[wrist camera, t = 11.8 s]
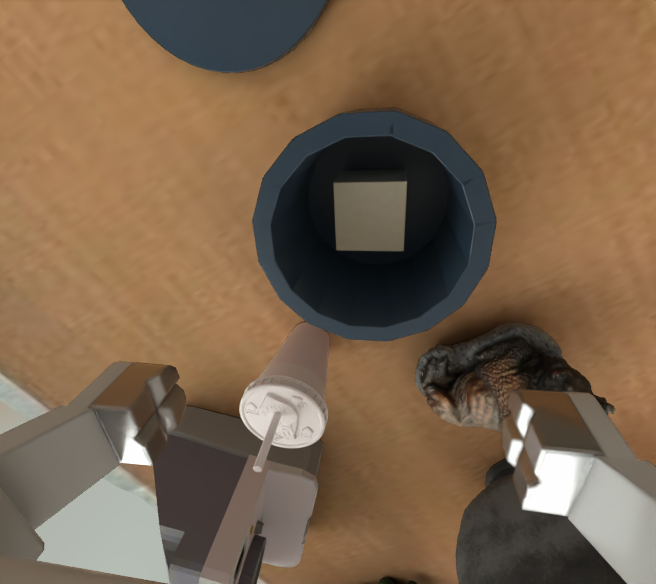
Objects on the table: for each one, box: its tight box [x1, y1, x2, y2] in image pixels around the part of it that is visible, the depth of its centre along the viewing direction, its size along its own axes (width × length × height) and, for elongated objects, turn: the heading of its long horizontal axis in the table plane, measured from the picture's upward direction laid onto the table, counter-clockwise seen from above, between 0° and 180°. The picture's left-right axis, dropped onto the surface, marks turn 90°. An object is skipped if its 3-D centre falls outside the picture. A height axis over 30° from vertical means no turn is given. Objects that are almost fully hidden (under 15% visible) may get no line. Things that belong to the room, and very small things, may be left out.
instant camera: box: [153, 406, 323, 584], centre depth 38 cm, size 21×21×15 cm
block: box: [333, 169, 407, 251], centre depth 24 cm, size 4×4×4 cm
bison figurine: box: [415, 322, 615, 432], centre depth 26 cm, size 12×7×10 cm, turn 127°
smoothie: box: [239, 322, 329, 472], centre depth 27 cm, size 6×6×14 cm
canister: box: [252, 107, 496, 341], centre depth 22 cm, size 12×12×10 cm
